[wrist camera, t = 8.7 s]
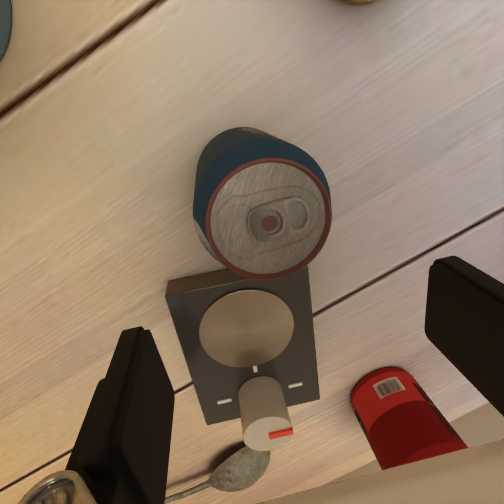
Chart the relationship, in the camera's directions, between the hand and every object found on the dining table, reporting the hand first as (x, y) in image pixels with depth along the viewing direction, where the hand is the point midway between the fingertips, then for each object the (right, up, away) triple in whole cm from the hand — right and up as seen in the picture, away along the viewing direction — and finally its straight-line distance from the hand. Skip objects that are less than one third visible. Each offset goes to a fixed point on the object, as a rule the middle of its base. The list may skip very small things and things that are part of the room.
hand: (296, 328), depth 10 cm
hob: (-2, -6, +21) cm, 22 cm away
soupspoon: (-10, -25, +29) cm, 40 cm away
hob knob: (-1, -11, +21) cm, 24 cm away
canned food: (+14, -14, +27) cm, 34 cm away
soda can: (-2, +9, +15) cm, 17 cm away
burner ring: (-2, -4, +18) cm, 18 cm away
